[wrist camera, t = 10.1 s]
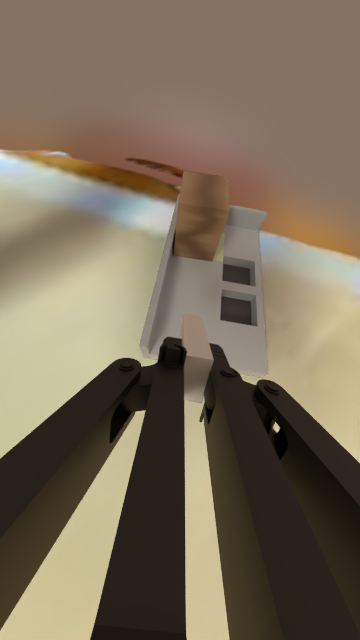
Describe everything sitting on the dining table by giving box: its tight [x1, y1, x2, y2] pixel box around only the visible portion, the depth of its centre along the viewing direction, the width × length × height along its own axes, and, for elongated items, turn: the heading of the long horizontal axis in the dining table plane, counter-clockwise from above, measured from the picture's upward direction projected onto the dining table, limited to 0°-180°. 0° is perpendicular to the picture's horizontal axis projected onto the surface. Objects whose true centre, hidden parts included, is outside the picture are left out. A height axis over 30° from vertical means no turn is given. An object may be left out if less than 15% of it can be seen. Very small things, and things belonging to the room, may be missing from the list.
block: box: [174, 170, 230, 262], centre depth 26 cm, size 6×7×8 cm
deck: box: [140, 195, 268, 377], centre depth 26 cm, size 15×26×5 cm, turn 172°
